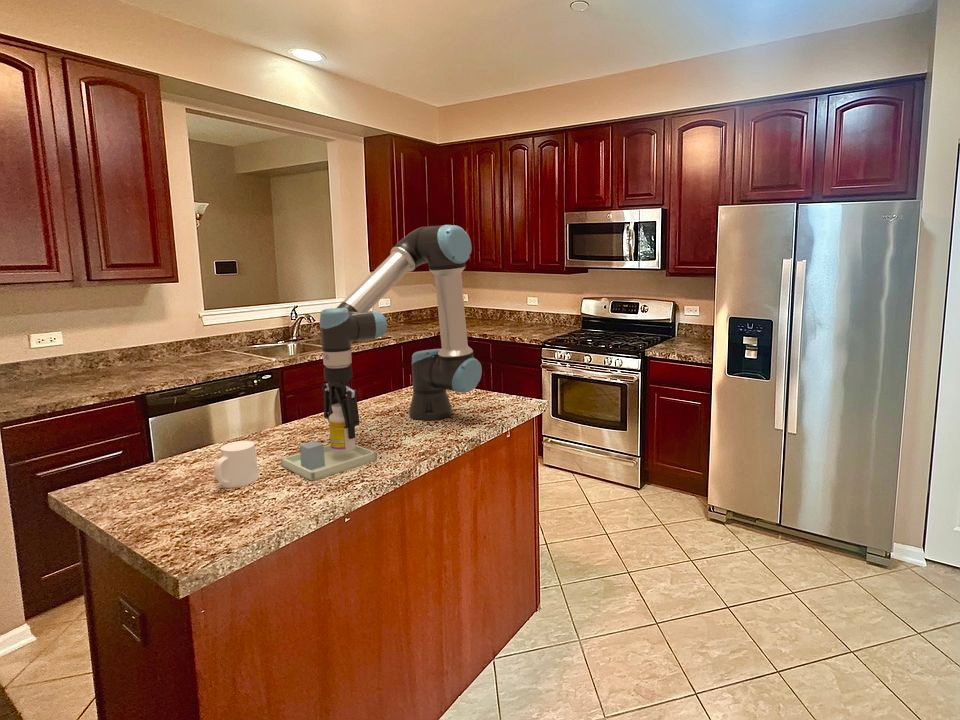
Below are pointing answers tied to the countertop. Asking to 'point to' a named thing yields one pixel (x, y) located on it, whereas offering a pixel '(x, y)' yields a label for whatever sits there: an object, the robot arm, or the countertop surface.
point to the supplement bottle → (337, 429)
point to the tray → (330, 462)
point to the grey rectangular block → (312, 455)
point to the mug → (237, 464)
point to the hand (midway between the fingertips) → (343, 446)
